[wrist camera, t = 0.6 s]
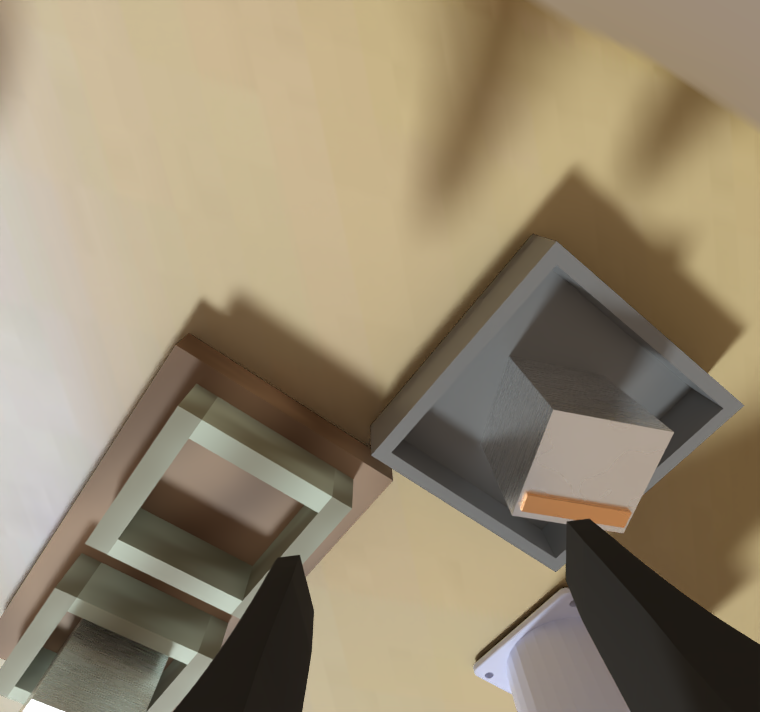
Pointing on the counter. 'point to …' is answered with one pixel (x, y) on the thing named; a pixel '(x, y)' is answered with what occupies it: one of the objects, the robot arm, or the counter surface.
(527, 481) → the block
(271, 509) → the double pocket tray
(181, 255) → the counter surface
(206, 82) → the counter surface
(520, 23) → the counter surface
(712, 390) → the gray square tray
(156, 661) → the billet
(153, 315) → the counter surface
